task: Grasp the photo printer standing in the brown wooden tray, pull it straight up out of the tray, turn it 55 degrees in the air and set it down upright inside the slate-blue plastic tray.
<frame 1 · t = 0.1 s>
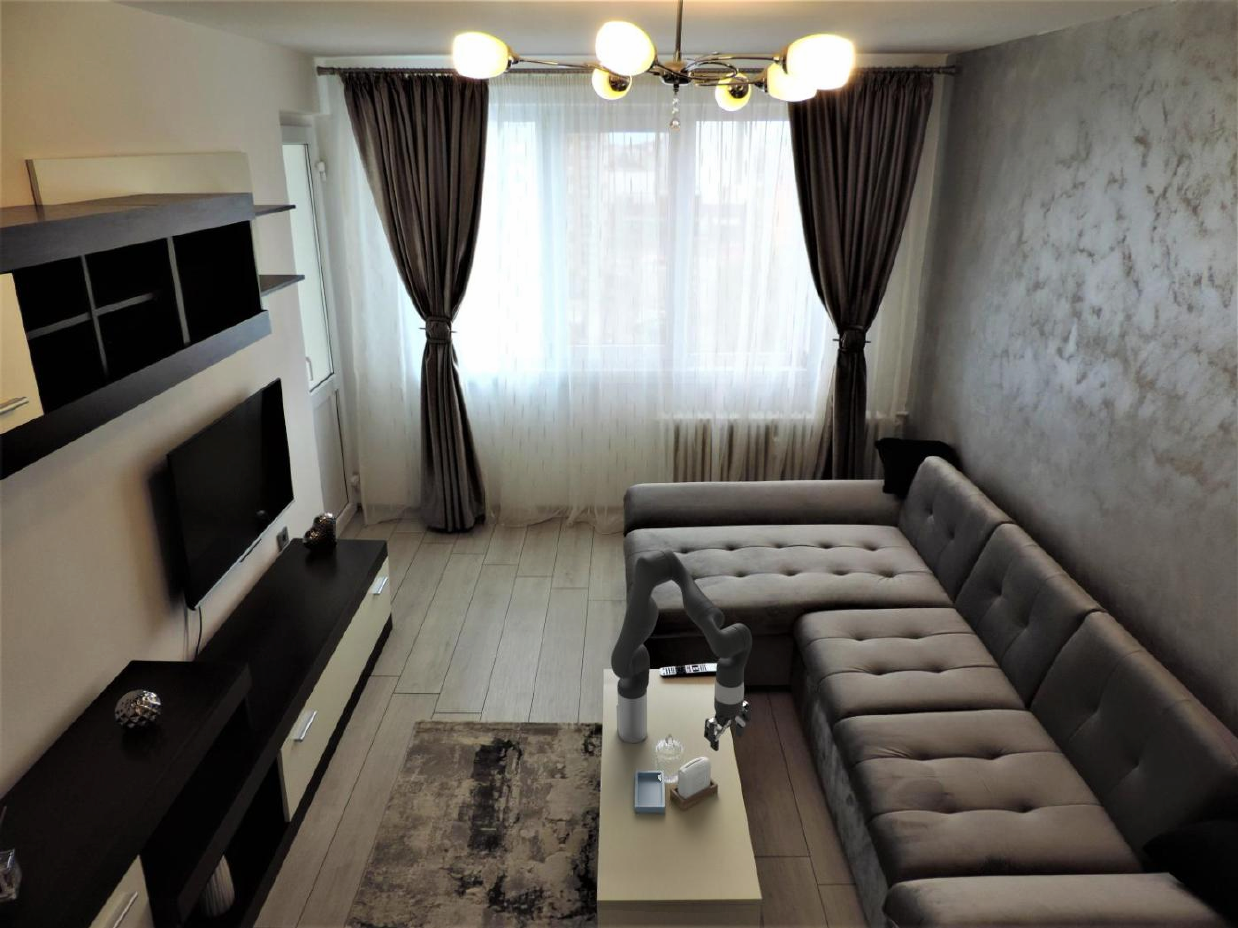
hand: (726, 742, 232), 29 cm above the table, fingers open, 8 cm apart
slate tray: (649, 794, 254), on the table
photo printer: (693, 795, 254), resting in brown wooden tray
brown wooden tray: (693, 794, 253), on the table
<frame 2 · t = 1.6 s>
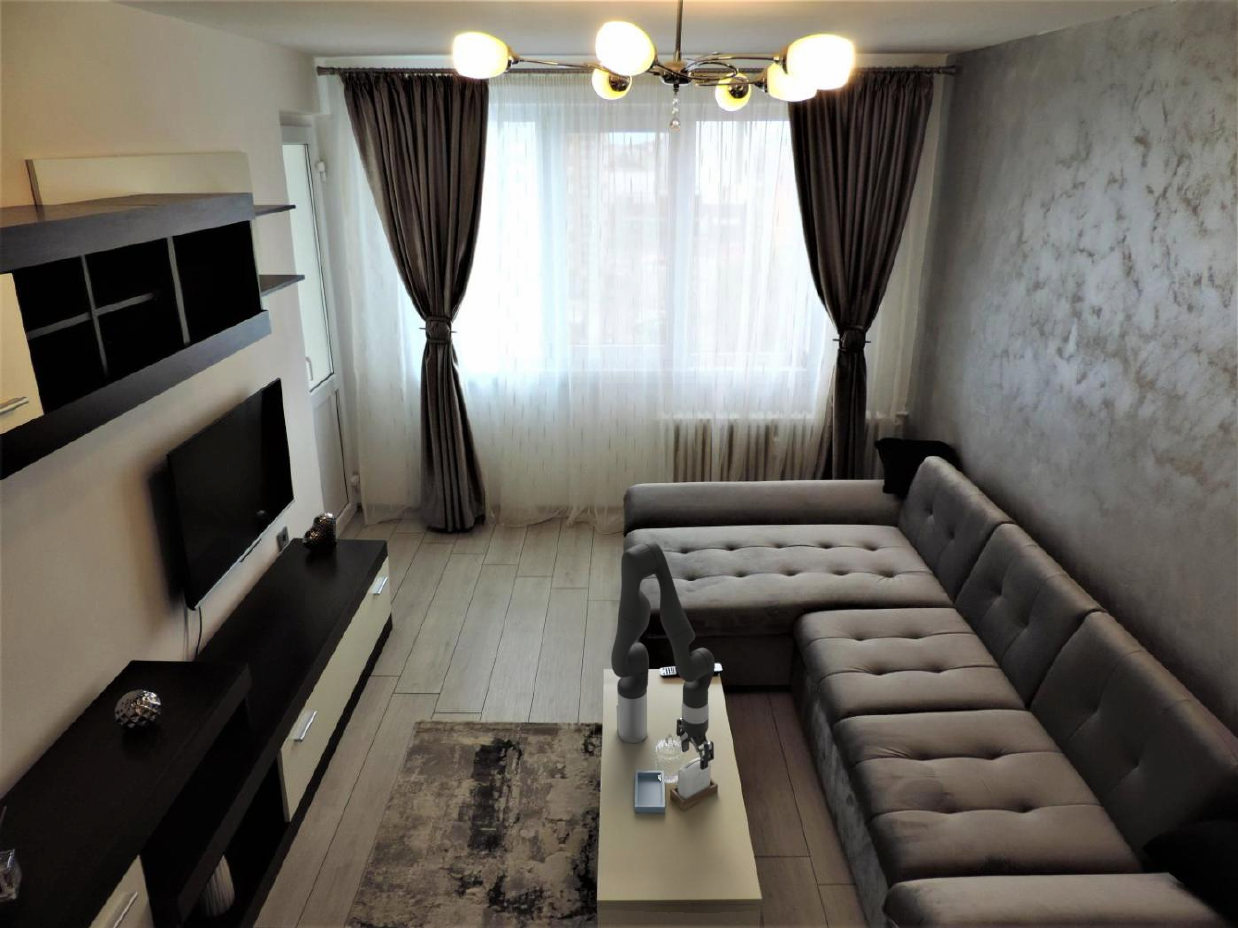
hand: (694, 759, 248), 13 cm above the table, fingers open, 8 cm apart
nothing on the table moved.
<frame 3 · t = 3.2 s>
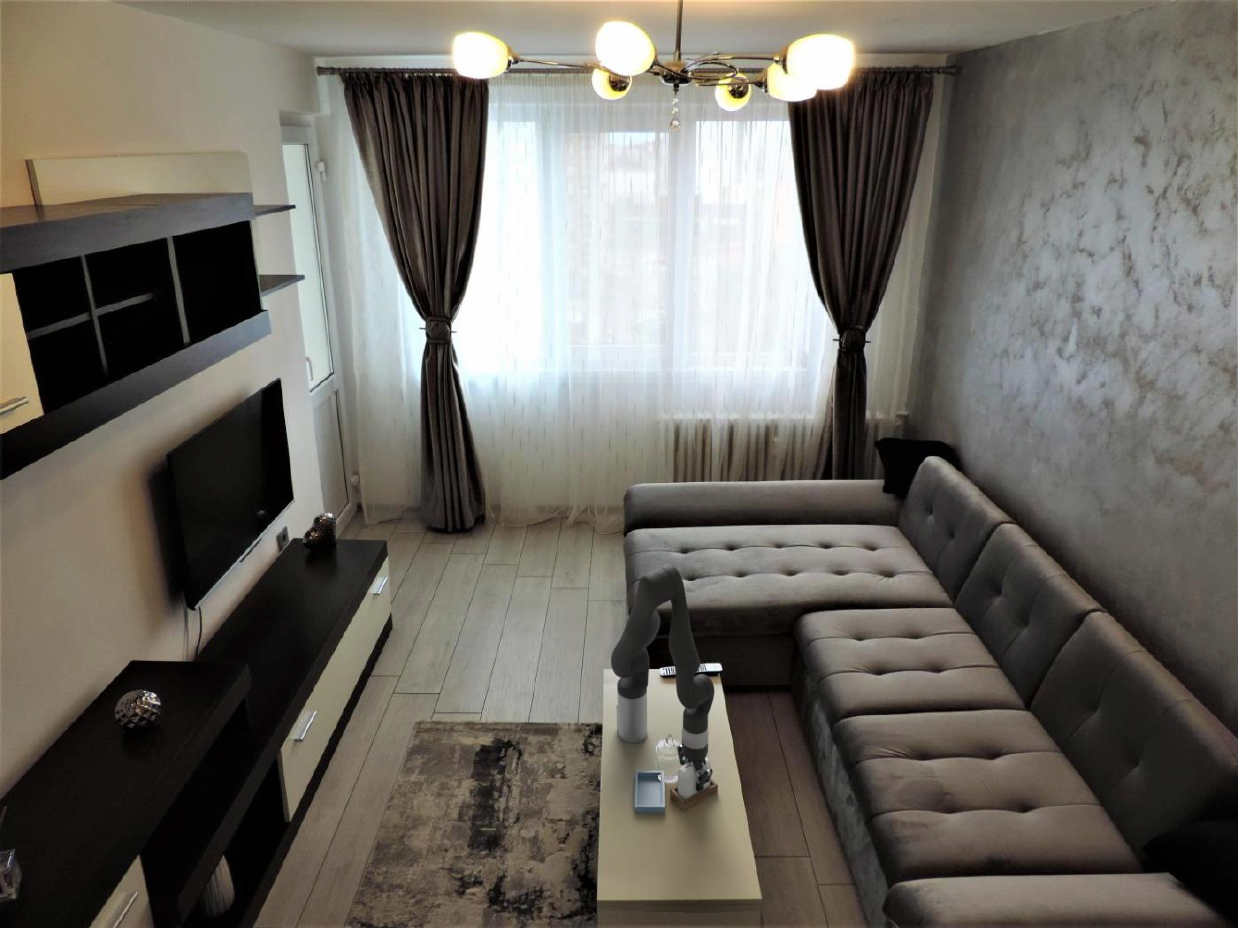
hand: (694, 784, 252), 4 cm above the table, fingers closed on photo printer, 4 cm apart
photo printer: (693, 795, 254), resting in brown wooden tray, touching gripper
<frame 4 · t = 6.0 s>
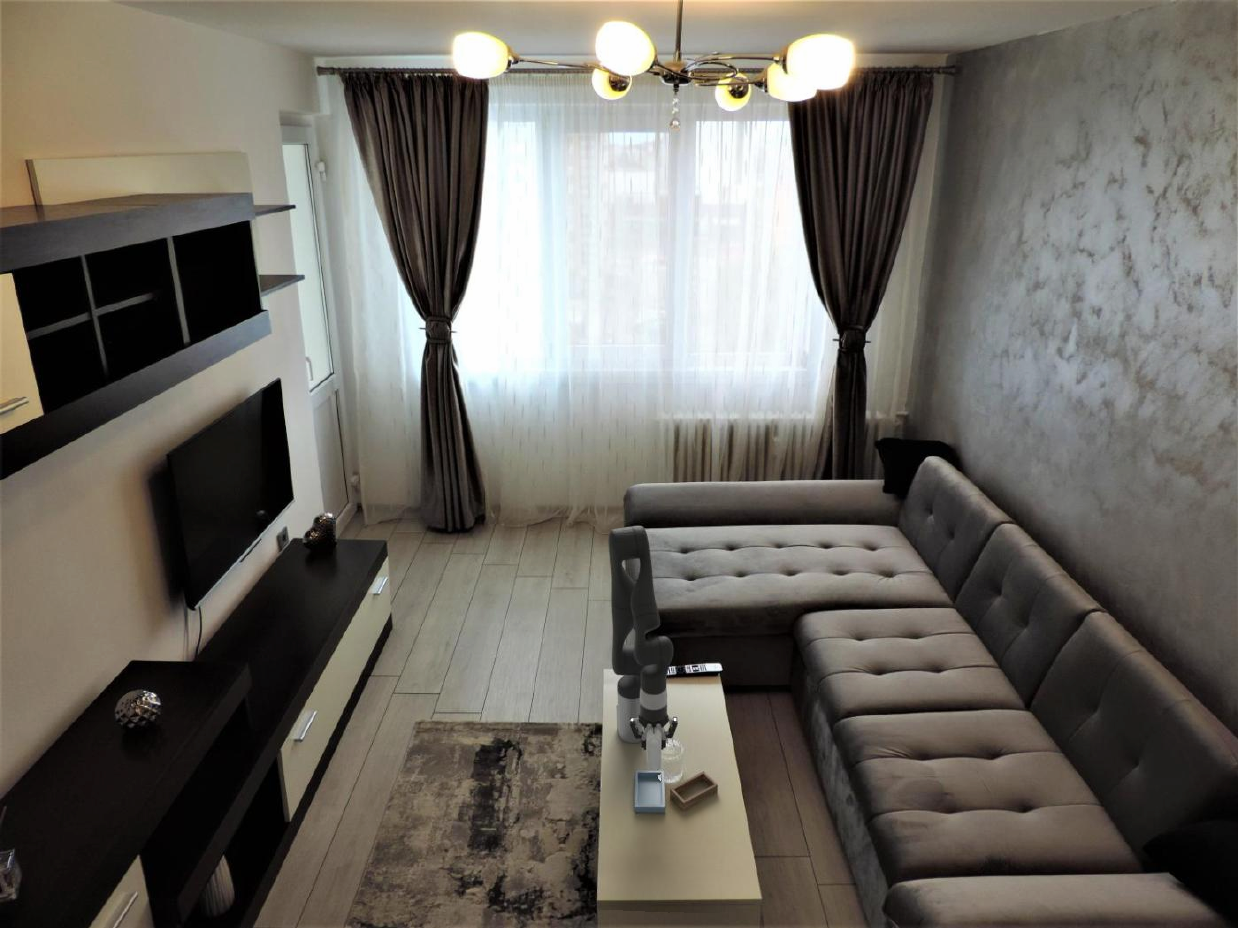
hand: (653, 747, 247), 17 cm above the table, fingers closed on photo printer, 4 cm apart
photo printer: (653, 758, 249), point 13 cm above the table, touching gripper
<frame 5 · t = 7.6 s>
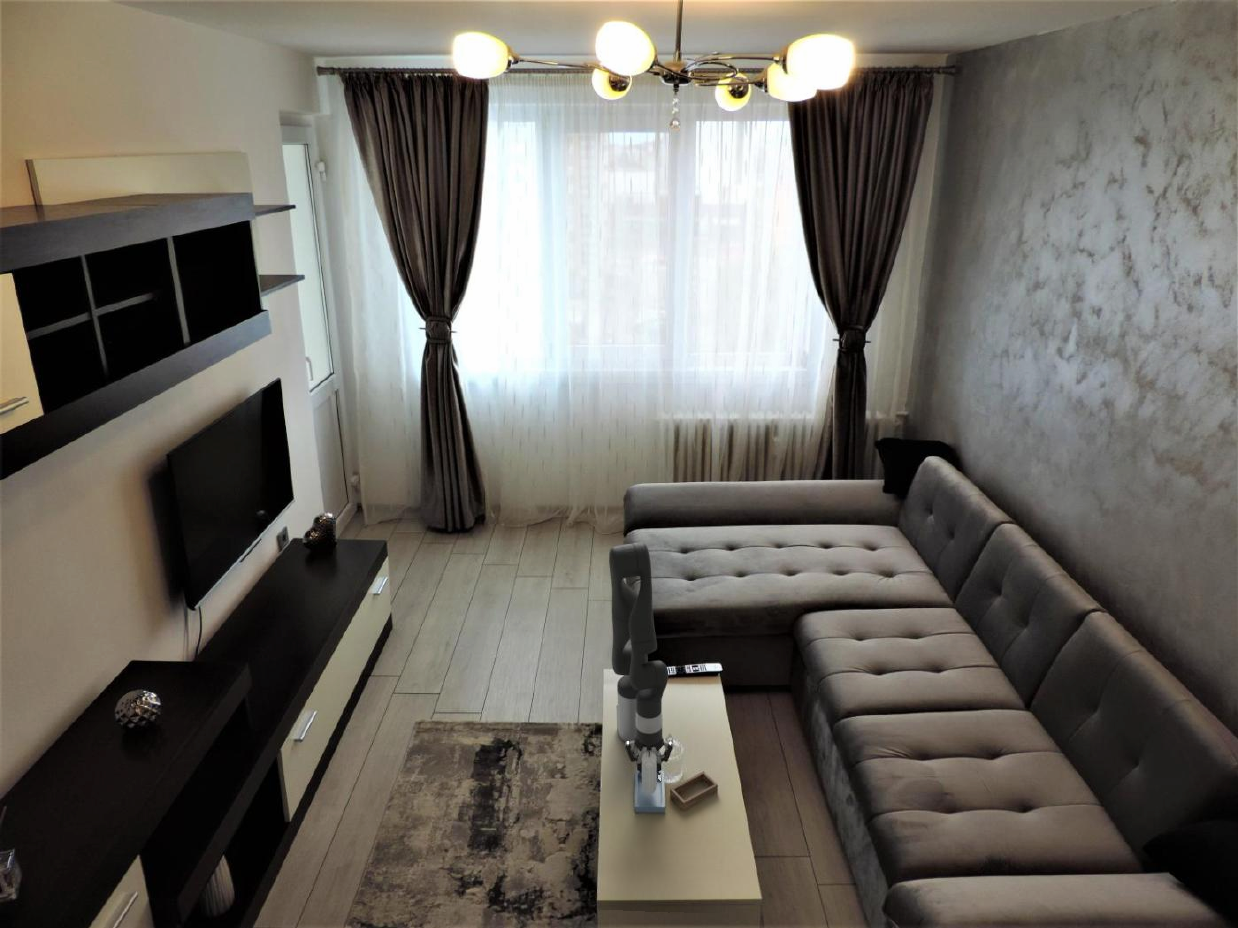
hand: (649, 770, 250), 9 cm above the table, fingers closed on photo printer, 4 cm apart
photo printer: (649, 781, 251), point 5 cm above the table, touching gripper
when the fingers open (5 cm above the table, at t = 8.8 s): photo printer stays where it is, resting on slate tray.
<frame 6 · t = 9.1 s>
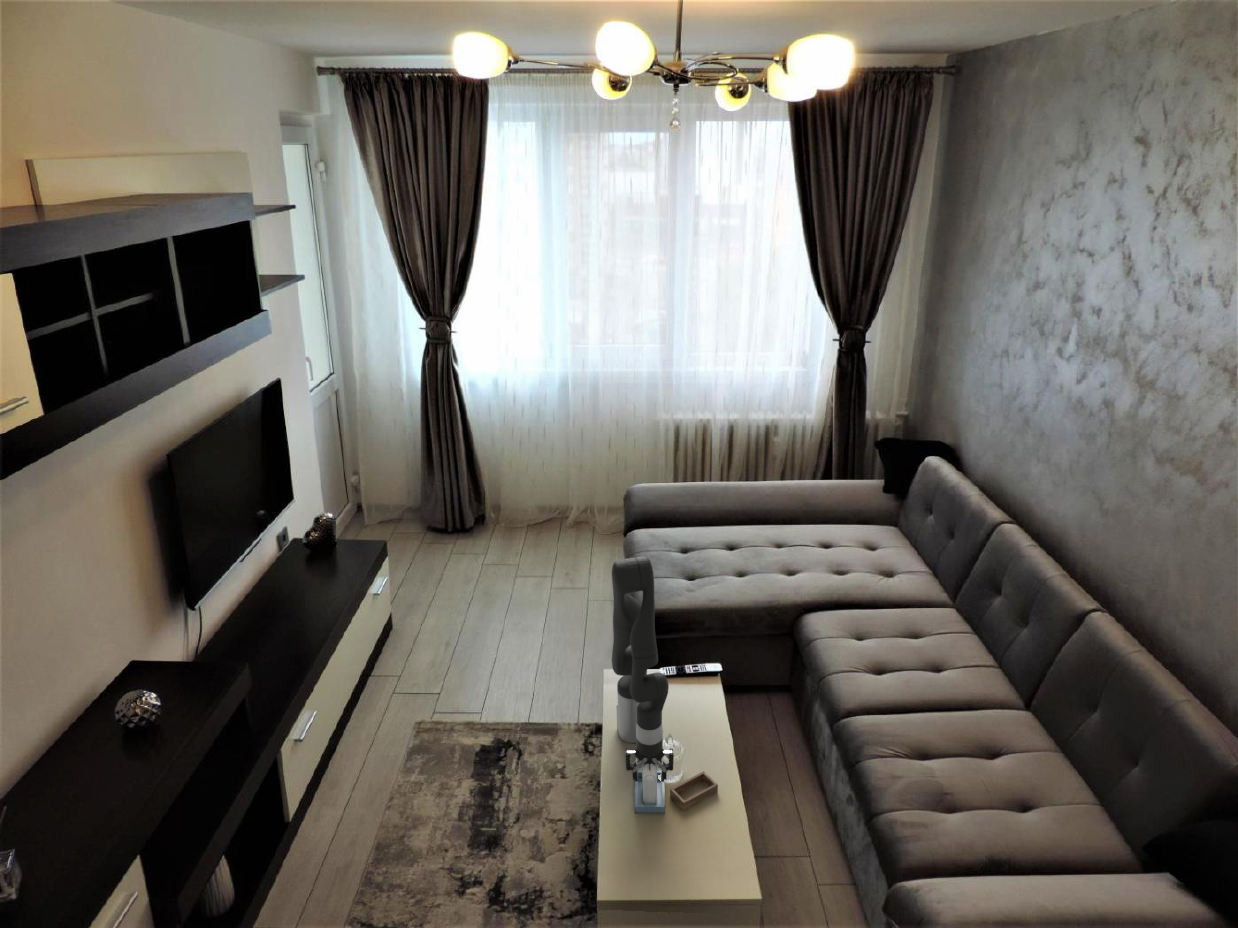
hand: (649, 779, 251), 6 cm above the table, fingers open, 7 cm apart
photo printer: (649, 793, 254), resting on slate tray
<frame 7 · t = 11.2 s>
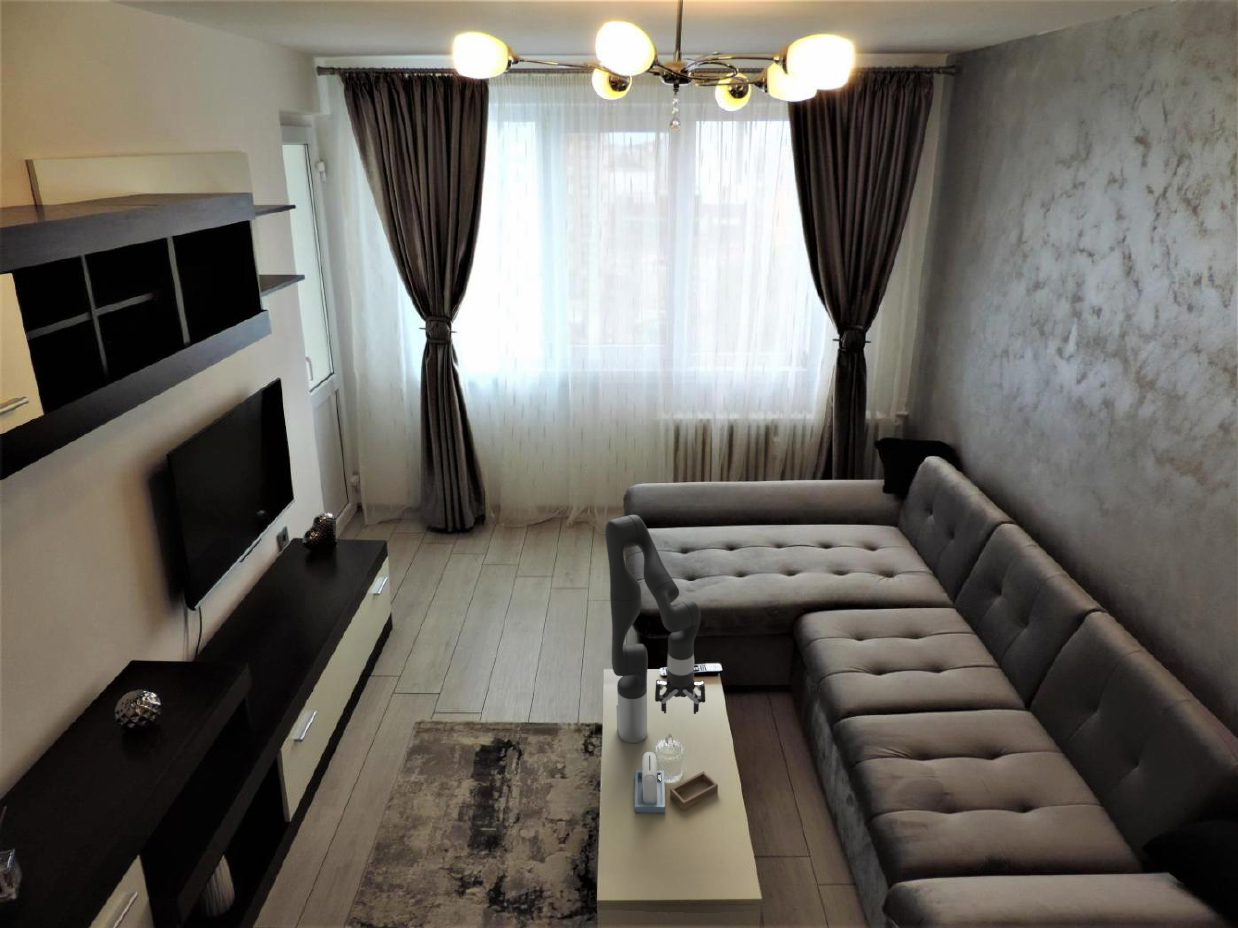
hand: (679, 711, 249), 25 cm above the table, fingers open, 8 cm apart
nothing on the table moved.
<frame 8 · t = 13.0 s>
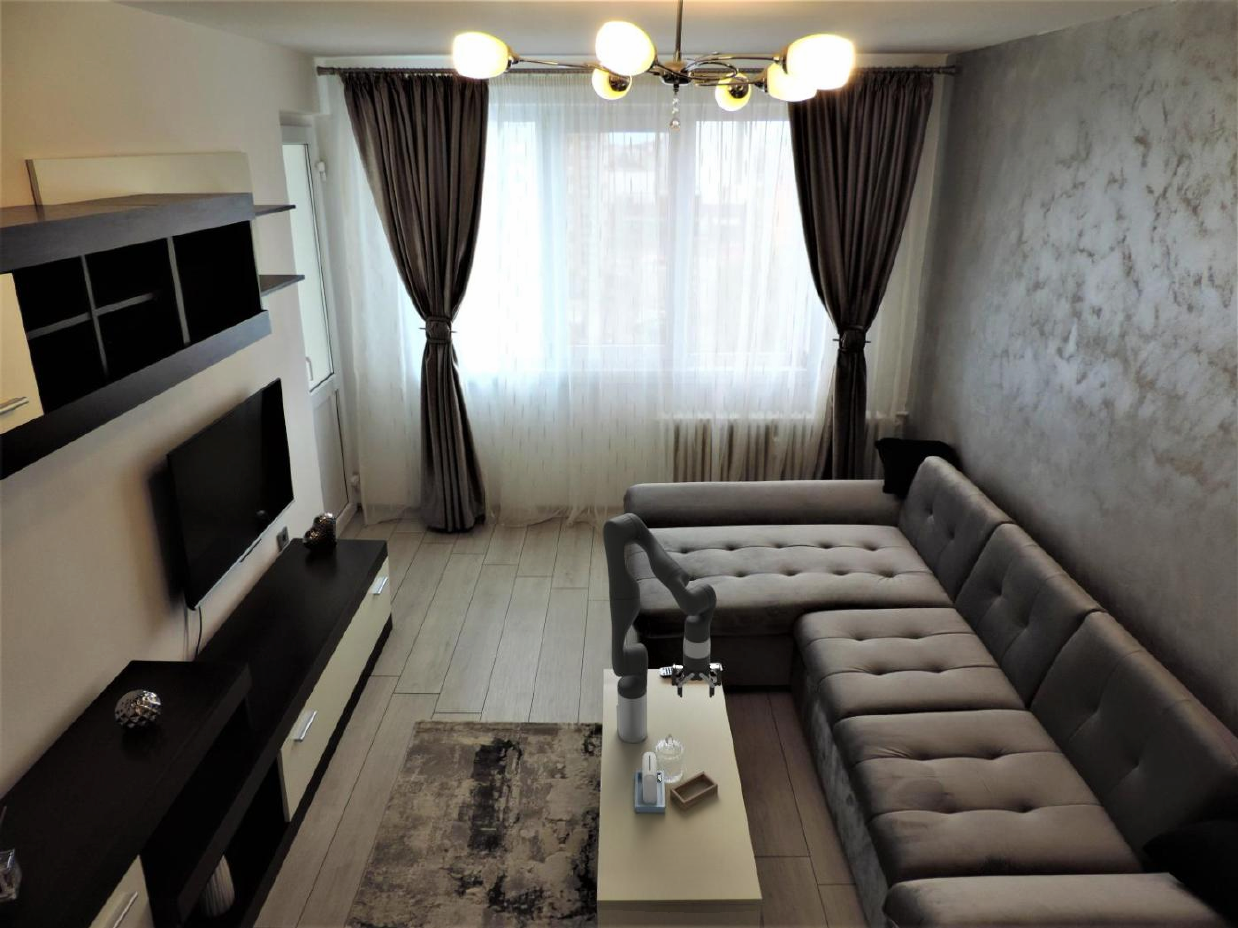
hand: (695, 695, 251), 28 cm above the table, fingers open, 8 cm apart
nothing on the table moved.
at the end: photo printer 0.0 cm off-centre on the slate tray, point 0.3 cm above the slate tray's base; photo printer tilted 0°; the gripper is holding nothing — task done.
